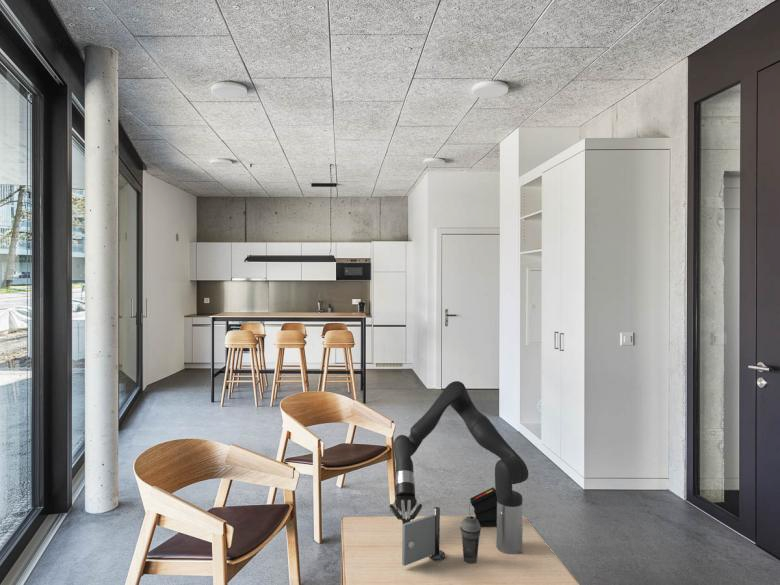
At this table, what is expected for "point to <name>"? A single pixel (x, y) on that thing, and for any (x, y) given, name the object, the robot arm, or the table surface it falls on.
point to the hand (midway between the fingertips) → (406, 530)
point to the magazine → (486, 508)
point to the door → (418, 539)
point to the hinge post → (437, 537)
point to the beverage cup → (470, 538)
